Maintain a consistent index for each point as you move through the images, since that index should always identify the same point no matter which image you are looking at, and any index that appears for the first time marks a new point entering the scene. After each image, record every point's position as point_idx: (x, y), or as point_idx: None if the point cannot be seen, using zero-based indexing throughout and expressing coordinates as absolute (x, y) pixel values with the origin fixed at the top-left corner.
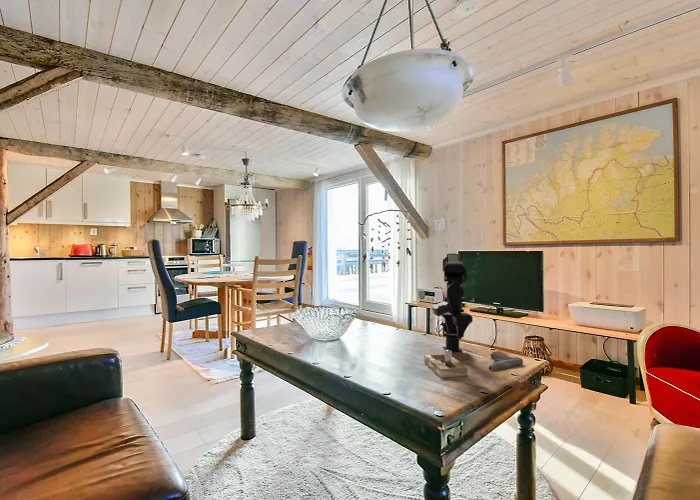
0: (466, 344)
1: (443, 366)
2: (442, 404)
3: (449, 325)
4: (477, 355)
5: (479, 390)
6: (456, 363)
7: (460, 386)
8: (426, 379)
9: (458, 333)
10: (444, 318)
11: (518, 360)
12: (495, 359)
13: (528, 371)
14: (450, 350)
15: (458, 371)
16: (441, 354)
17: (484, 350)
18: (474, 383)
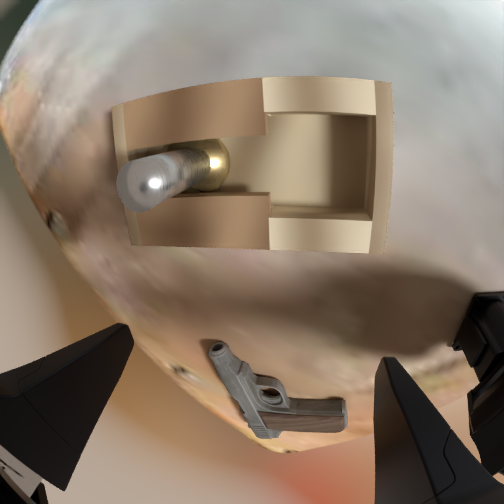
0: None
1: (144, 128)
2: (11, 97)
3: (392, 439)
4: None
5: (57, 213)
6: (188, 219)
7: (72, 165)
8: (128, 47)
9: (67, 350)
10: (475, 498)
11: (251, 428)
12: (321, 401)
13: (207, 407)
14: (140, 206)
15: None
16: (376, 201)
17: None
18: (94, 223)
